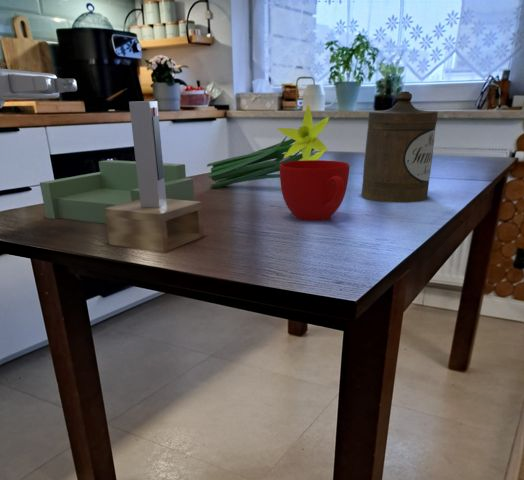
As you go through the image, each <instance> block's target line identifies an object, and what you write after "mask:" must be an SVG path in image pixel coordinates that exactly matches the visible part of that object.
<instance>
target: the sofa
mask: <svg viewBox="0 0 524 480" xmlns="http://www.w3.org/2000/svg"><path fill="white" fill-rule="evenodd" d="M98 167H99V171H98V172H92V173H86V174H80V175H75V176H70V177H69V176H68V177H63V178H57V179H52V180H46V181H41V182H40V181H39V185H40V186H39V187H40V192H41V197H42V202H43V207H44V212H45V217H46V219H52V220H53V219H54V220H56V219H64V220H73V221H81V222H89V223H98V224H106V218H105V211H104V208H108V207H111V206H115V205H119V204H123V203H127V202H131V201H135V200H139V199H140V195H139V186H138V177H137V168H136V160H135V161H133V160H132V161H131V160H118V159H117V160H116V159H115V160H114V159H107V160H99V161H98ZM163 170H164V181H165V192H166V199H176V200H187V201H196V200H195V188H194V187H195V186H194V185H195V184H194V178H188V177H187V171H186V164H185V163H170V162H169V163H168V162H163Z"/></svg>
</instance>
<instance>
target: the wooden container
mask: <svg viewBox="0 0 524 480" xmlns="http://www.w3.org/2000/svg"><path fill="white" fill-rule="evenodd" d="M412 99H413V94H412V93H411V92H410V91H400V92H399V93H397V94H396V96H395V100H396V101H397V102H396V103H395V104H394V105H393V106H392V107H390V108H389V109H384V110H371V111H369V112H368V117H367V122H368V123H367V130H366V131H367V132H366V142H365V151H364V160H363V171H362V183H361V197H362V198H363V199H365V200H370V201H375V202H381V203H382V202H383V203H416V202H422V201H425V200H427V199H428V193H429V185H430V178H431V173H432V172H431V171H432V164H433V156H434V146H435V137H436V129H437V122H438V111H436V110H422V109H418V108H416V106H414V105H413V104H412V102H411V101H412Z"/></svg>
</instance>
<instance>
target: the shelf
mask: <svg viewBox="0 0 524 480" xmlns="http://www.w3.org/2000/svg"><path fill="white" fill-rule="evenodd" d="M104 211H105V218H106V230H107V239H108V244H109V246H117V247H124V248H131V249H136V250H145V251H152V252H158V253H166V252H169V251H172V250H174V249H176V248H179V247H181V246H184V245H186V244H188V243H191V242H194V241H196V240H198V239H201V238H203V237H204V220H203V205H202V201H198V200H197V201H196V200H195V201H187V200H176V199H166V203H165V204H163V205H162V206H161V207H160V208H141V203H140V199H139V200H135V201H131V202H127V203H123V204H119V205H115V206H111V207H108V208H104Z"/></svg>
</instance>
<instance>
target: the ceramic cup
mask: <svg viewBox="0 0 524 480" xmlns="http://www.w3.org/2000/svg"><path fill="white" fill-rule="evenodd" d="M279 174H280V178H279V180H280V188H281V189H280V190H281V193H282V198H283V201H284V203H285V205H286V207H287V209H288V210H289V211H290V213H291V214H292V215H293V216H294V218H295V219H296V220H300V221H306V222H321V221H327V220H330V219H331V217H332V216H333V215H334V214H335V213H336V212H337V211H338V210H339V208H340V206H341V205H342V203H343V201H344V199H345V195H346V193H347V189H348V182H349V176H350V164H349V162H345V161H337V160H320V159H318V160H305V161H301V160H298V161H291V162H285V163H282V164H280V171H279Z"/></svg>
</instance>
